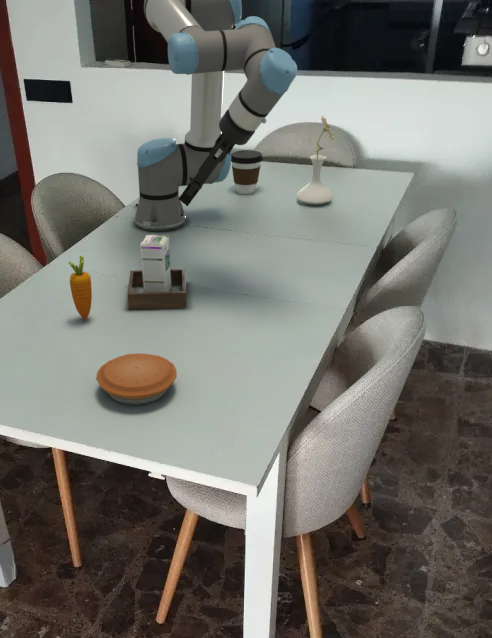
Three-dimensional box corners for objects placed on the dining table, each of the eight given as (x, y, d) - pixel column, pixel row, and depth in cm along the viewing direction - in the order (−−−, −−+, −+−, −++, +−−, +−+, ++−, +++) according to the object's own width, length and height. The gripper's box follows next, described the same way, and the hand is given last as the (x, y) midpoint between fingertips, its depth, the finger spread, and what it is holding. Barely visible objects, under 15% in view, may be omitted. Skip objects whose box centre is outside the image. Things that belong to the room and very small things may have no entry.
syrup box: (167, 302, 168) (164, 244, 159) (143, 300, 169) (139, 243, 160) (172, 292, 172) (170, 235, 164) (148, 290, 173) (145, 234, 165)
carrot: (78, 326, 159) (70, 264, 150) (71, 317, 163) (62, 256, 154) (99, 321, 161) (92, 259, 152) (91, 312, 165) (84, 252, 156)
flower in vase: (328, 209, 217) (337, 123, 202) (292, 206, 220) (298, 121, 206) (336, 196, 227) (344, 113, 212) (301, 193, 230) (307, 111, 216)
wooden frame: (131, 285, 176) (130, 270, 174) (185, 283, 176) (185, 268, 174) (128, 310, 165) (127, 294, 163) (186, 308, 165) (185, 292, 163)
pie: (94, 413, 131) (92, 390, 128) (101, 370, 143) (99, 348, 140) (177, 411, 131) (176, 388, 128) (176, 367, 143) (176, 346, 140)
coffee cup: (223, 189, 236) (223, 152, 229) (251, 184, 239) (252, 147, 232) (239, 198, 228) (240, 160, 221) (268, 193, 231) (269, 155, 224)
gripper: (238, 158, 143) (187, 225, 160) (272, 105, 158) (222, 171, 175) (209, 134, 142) (161, 204, 158) (246, 83, 157) (198, 152, 173)
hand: (193, 187), depth 166 cm, fingers open, 13 cm apart
